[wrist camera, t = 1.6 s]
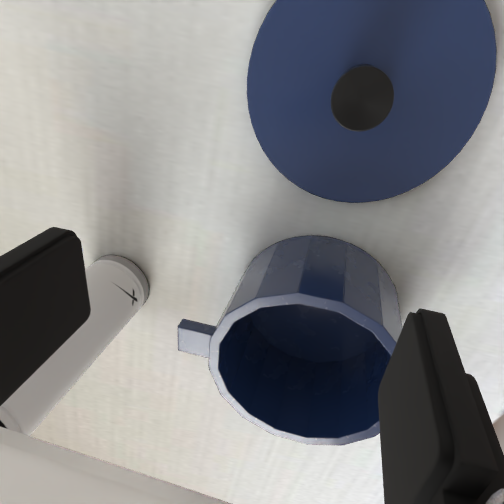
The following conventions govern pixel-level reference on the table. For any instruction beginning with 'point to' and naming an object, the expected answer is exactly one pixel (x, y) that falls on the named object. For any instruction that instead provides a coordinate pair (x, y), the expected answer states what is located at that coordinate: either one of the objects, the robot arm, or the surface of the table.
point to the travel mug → (79, 342)
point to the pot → (304, 341)
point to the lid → (369, 91)
